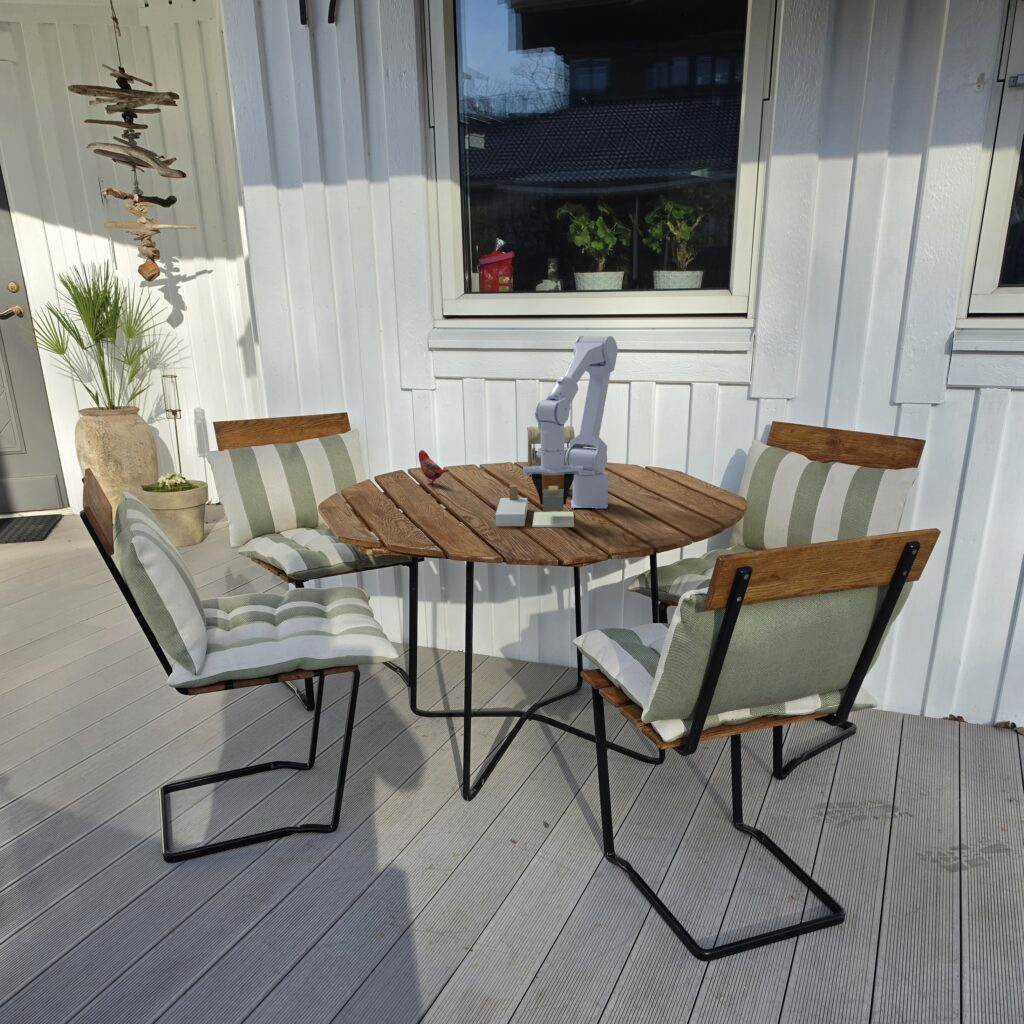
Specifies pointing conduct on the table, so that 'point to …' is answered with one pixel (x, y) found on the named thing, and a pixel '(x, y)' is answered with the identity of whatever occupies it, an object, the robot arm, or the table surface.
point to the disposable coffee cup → (552, 479)
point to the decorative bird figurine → (430, 467)
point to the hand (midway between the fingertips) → (553, 503)
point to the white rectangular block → (512, 509)
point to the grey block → (552, 499)
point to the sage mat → (553, 519)
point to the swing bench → (535, 438)
